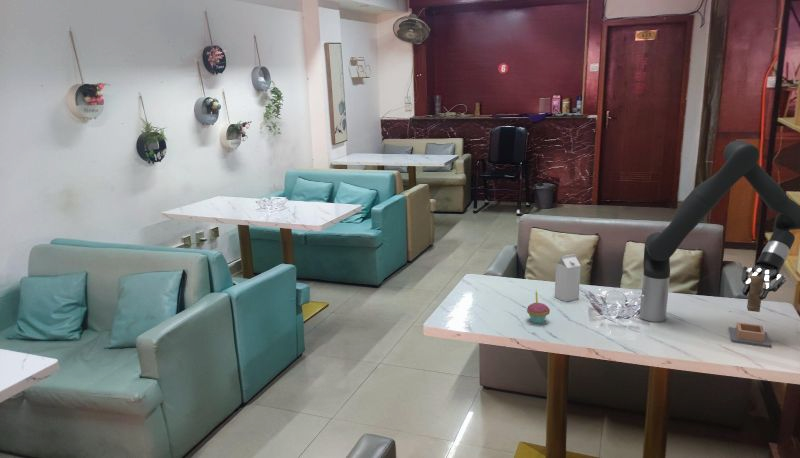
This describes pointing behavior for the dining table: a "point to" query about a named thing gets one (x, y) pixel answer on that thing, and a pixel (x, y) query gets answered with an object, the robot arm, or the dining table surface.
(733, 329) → the square peg socket
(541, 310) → the cupcake
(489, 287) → the dining table surface
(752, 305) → the wooden square peg
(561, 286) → the milk carton
